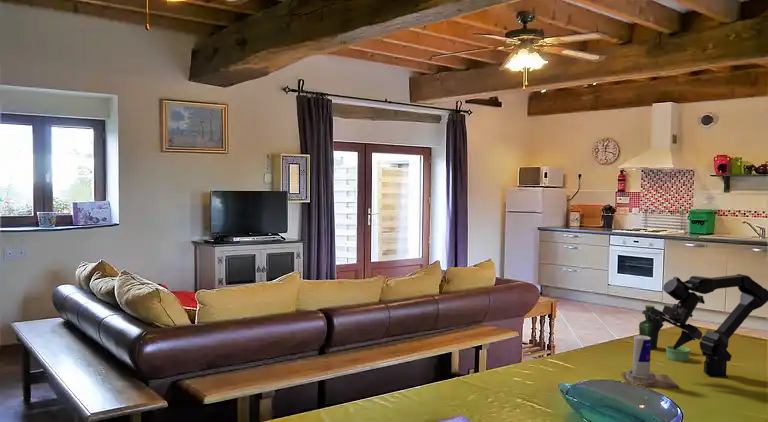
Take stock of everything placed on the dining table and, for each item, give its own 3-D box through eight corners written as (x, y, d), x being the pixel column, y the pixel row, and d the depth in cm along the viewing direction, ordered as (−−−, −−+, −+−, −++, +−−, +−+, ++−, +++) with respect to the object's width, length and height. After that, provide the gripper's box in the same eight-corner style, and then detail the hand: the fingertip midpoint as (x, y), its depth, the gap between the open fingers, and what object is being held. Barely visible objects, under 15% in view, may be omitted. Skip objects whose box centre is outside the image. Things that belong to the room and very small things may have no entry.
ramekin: (694, 362, 249) (694, 351, 249) (671, 362, 249) (671, 351, 249) (683, 356, 258) (684, 345, 258) (661, 355, 258) (662, 345, 258)
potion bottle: (646, 350, 265) (648, 308, 264) (633, 345, 273) (635, 304, 272) (662, 349, 267) (664, 307, 267) (650, 344, 275) (651, 303, 274)
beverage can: (641, 382, 220) (643, 339, 219) (628, 377, 225) (630, 335, 224) (652, 380, 222) (654, 338, 221) (640, 375, 227) (641, 334, 226)
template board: (666, 377, 229) (667, 369, 229) (678, 389, 216) (679, 380, 216) (621, 374, 231) (621, 366, 231) (630, 386, 218) (630, 377, 218)
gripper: (654, 288, 232) (631, 323, 230) (700, 307, 216) (676, 346, 215) (666, 301, 238) (644, 335, 237) (712, 321, 222) (689, 358, 221)
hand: (662, 343), depth 227 cm, fingers open, 9 cm apart
